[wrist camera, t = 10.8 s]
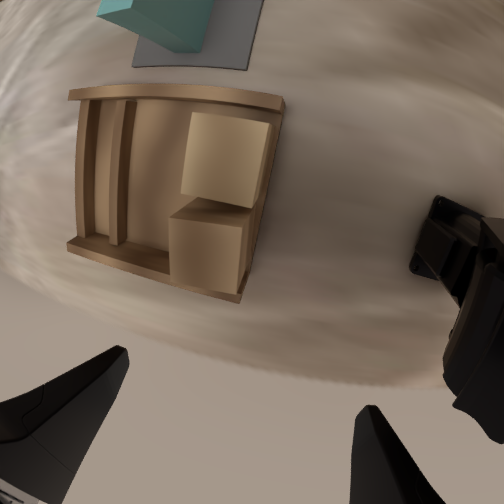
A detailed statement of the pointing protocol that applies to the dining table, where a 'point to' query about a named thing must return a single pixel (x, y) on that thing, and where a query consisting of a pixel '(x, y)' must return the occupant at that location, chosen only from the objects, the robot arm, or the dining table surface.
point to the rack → (148, 169)
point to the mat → (211, 40)
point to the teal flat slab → (162, 21)
